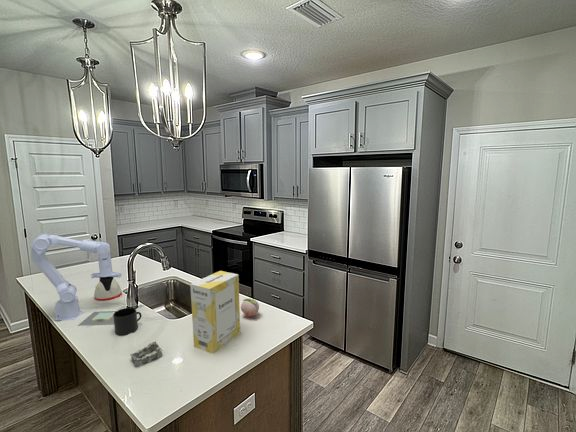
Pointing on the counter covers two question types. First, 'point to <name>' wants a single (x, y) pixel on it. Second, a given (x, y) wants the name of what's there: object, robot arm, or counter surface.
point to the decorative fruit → (250, 307)
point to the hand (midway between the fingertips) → (108, 290)
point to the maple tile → (103, 317)
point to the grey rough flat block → (146, 350)
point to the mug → (126, 321)
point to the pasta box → (215, 310)
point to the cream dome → (107, 295)
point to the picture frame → (89, 322)
